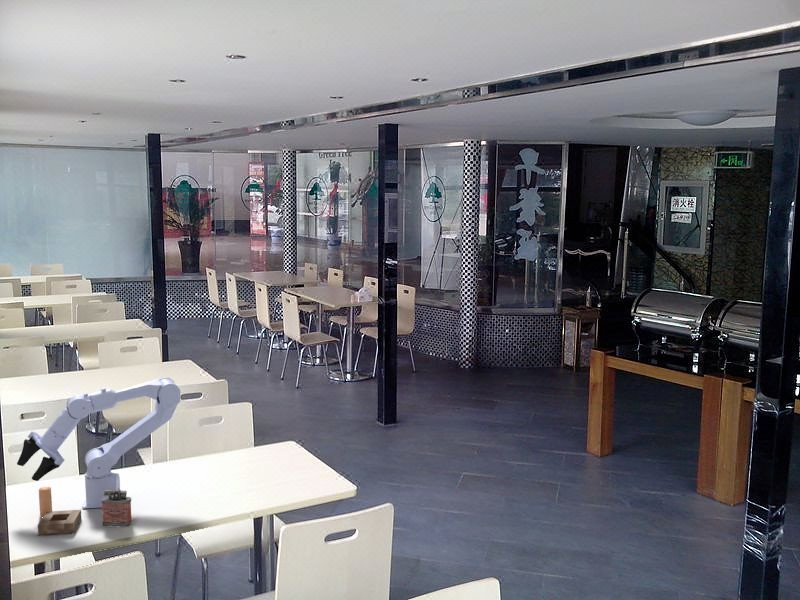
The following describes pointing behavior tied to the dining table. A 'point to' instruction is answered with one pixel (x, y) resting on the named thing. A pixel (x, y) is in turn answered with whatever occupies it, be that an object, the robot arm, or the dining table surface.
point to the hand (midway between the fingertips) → (27, 472)
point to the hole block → (59, 522)
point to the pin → (45, 500)
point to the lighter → (116, 508)
